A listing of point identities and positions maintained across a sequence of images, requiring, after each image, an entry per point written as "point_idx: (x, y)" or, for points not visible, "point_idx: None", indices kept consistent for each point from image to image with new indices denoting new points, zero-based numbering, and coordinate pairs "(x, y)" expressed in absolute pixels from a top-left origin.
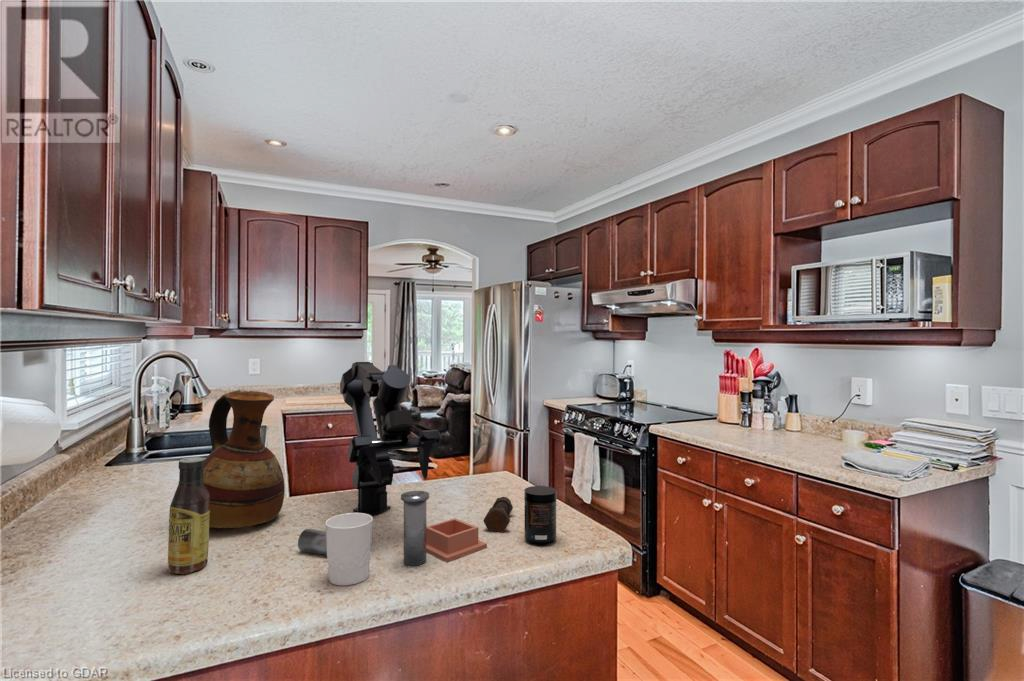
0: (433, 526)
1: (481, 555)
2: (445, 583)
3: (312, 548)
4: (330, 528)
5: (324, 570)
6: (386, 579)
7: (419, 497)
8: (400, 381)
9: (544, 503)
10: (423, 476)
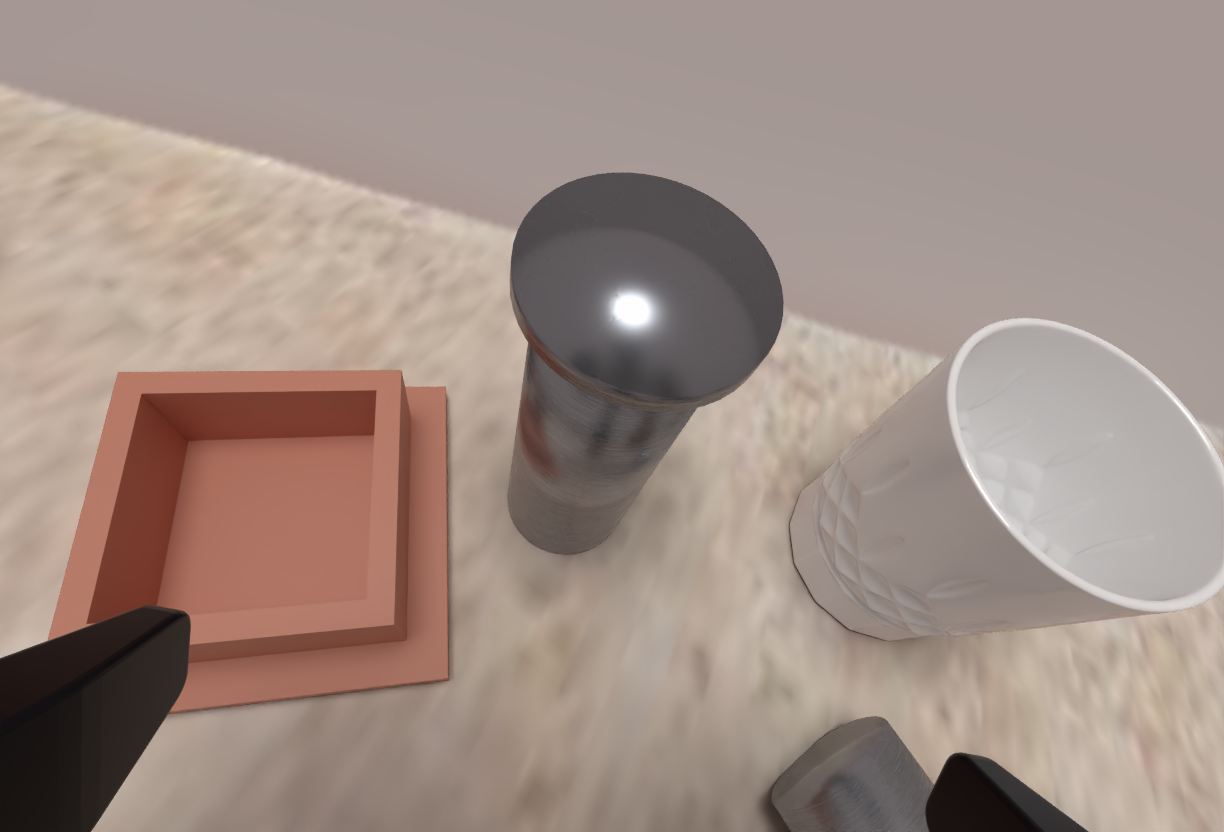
0: (330, 603)
1: (256, 351)
2: None
3: None
4: (1182, 416)
5: (962, 698)
6: (738, 431)
7: (653, 198)
8: None
9: None
10: (140, 746)
